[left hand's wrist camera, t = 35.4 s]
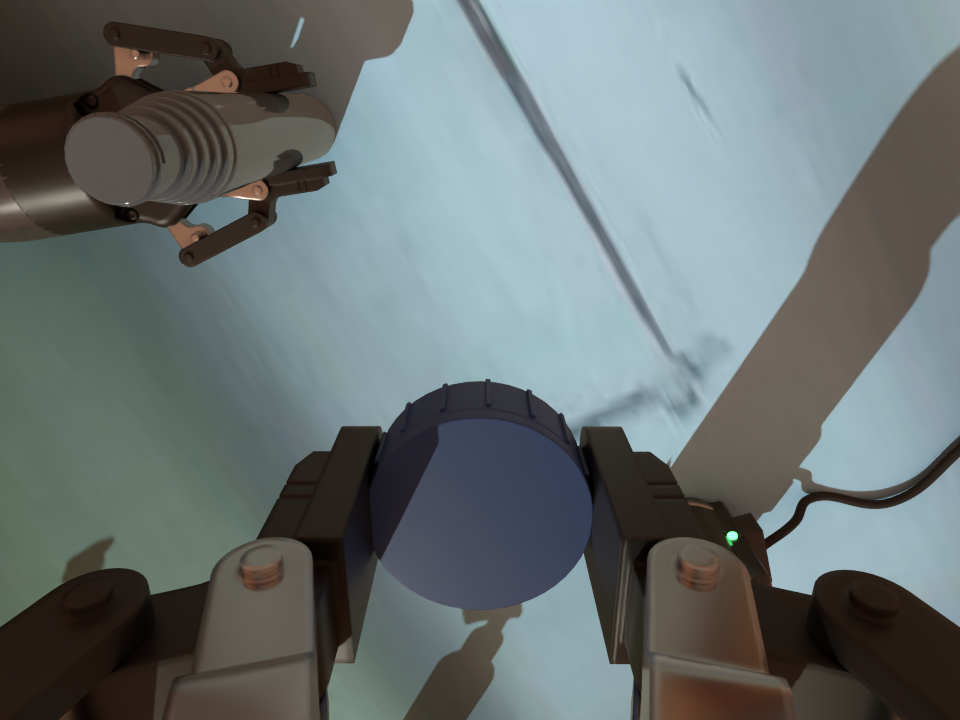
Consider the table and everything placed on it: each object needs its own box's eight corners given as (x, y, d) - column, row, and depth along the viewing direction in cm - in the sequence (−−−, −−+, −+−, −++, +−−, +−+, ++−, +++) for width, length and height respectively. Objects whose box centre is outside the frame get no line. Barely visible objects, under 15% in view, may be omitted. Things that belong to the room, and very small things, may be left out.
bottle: (309, 80, 42) (108, 57, 19) (348, 137, 44) (206, 181, 20) (259, 118, 43) (9, 141, 20) (300, 172, 45) (110, 254, 21)
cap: (442, 585, 13) (438, 642, 12) (336, 438, 12) (316, 481, 11) (616, 506, 13) (633, 556, 11) (522, 341, 11) (528, 373, 10)
